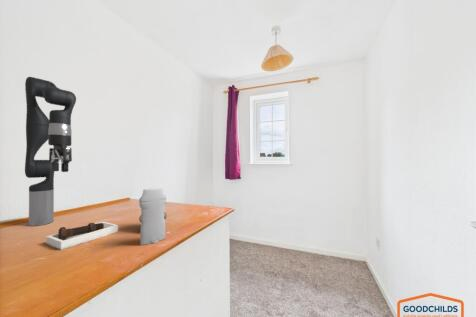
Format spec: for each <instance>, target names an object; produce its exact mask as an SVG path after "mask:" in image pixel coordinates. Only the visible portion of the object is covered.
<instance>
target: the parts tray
mask: <svg viewBox="0 0 476 317" xmlns="http://www.w3.org/2000/svg"><path fill="white" fill-rule="evenodd" d="M94 223H95V224H98V223H103V224H104V229H101V230H97V231H94V232H90V233H85V234H81V235H76V236H72V237H68V238H66V240H61V239H59V237H58V233H59V232H58V233H54V234H51V235H50V234H49V235H46V236H45V238H46V242H45V243H46V245H48V246H50V247H53V248H55V249H56V250H60V251H63V250H66V249H69V248H72V247H75V246H79V245H81V244H84V243H86V242H90V241H93V240H96V239H99V238H103V237H105V236H109V235H112V234H114V233H117V232H119V225H118V224H115V223H112V222H111V223H110V222H106V221H100V222H94Z"/></svg>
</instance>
